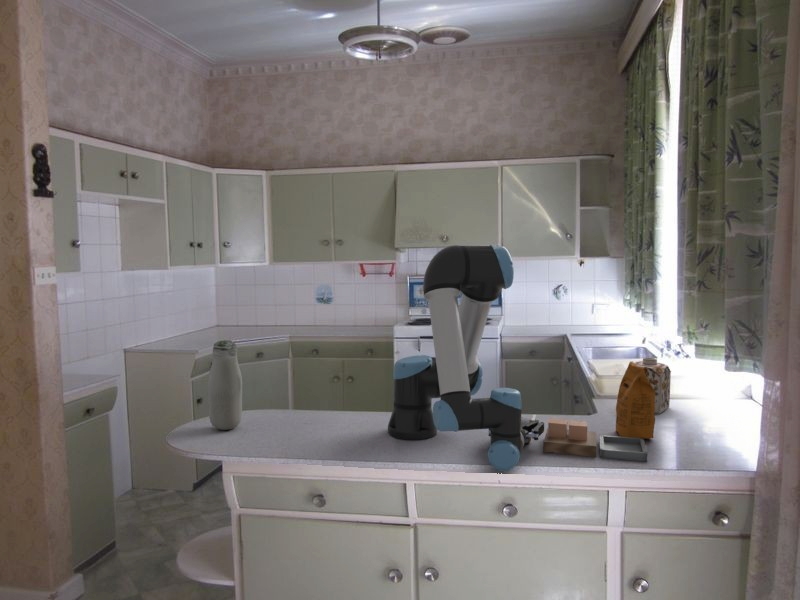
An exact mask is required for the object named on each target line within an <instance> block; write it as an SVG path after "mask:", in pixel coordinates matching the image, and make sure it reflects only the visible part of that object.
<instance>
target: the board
mask: <svg viewBox="0 0 800 600" xmlns="http://www.w3.org/2000/svg"><path fill="white" fill-rule="evenodd" d="M548 452H554V453H553V454H559V453H562V454H561V455H568V456H569V455H570V456H583V457H584V456H585V457H592V458H593V457H594V458H596V457H597V431H590V430H587V441H586V440H574V439H569V429H568V434H567V437H566V438H559V437H549V436H548V427H547V428H546V432H545V436H544V441H543V453H548Z"/></svg>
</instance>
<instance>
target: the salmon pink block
mask: <svg viewBox="0 0 800 600" xmlns="http://www.w3.org/2000/svg"><path fill="white" fill-rule="evenodd" d="M547 428H548V436H549V437H559V438H566V437H567V434H568V430H569V419H561V418H552V417H551V418H549V420H548V424H547Z"/></svg>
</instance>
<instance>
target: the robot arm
mask: <svg viewBox="0 0 800 600" xmlns="http://www.w3.org/2000/svg"><path fill="white" fill-rule="evenodd" d="M423 276H424V277H423V280H422V281H423V283H422V285H423V286H422V288H423V289H422V290H423V291H422V292H423V298H424V300H425V301H427V303H428V307H429V315H430V322H431V323H430V326H431V332H432V340H433V348H434V356H435V360H433V359H432V357H431V356H429V355H424V354H422V355H420V354H419V355H411V356H410V355H409V356H406V357H402V358H400V359H398V360H396V362H395V363H394V365H393V373H392V378H393V409H392V412H391V415H390V419H389V421H388V425H387V434H388V435H389V436H391V437H393V438H396V439H400V440H409V441H412V440H414V441H415V440H425V439H431V438H432V437H435V436H437V435H438V431H439V432H456V433H457V432H460V431H472V430H473V431H474V430H475V431H476V430H487V429H488V437H490V446H489V448H488V451H487V459H488V462H489V463H490V465H491V466H492V467H493V468H494V469H495V470H497V471H501V472H508V471H511V470H512V469H514V468H515V467H516V466H517V464H518V463H519V461H520V458H521V454H522V453H523V452H522V451H523V449H524V446H525V444H526V443H525V441H526V439H528V438H529V437H531V440H532V439H533V440H534V441H539V438H540V436H541V435H542V434H543V433H544V432H545V422H544V421H540V420H538V419H537V414H532V418H531V420H532V421H531V423H529V424H527V425H521V417H522V410H523V409H522V408H523V406H522V395H521V392H520V391H519V390H518V389H516V388H511V387H497V388H493V389H492V390H491V392H490V396H489V397H481V398H480V397H479V398H472V396H475V395H476V394H477V393H478V392H479V390H480V389H481V387H482V383H483V376H484V375H483V374H484V373H483V372H484V371H483V366H482V364H481V362H480V361H479V358H478V357H477V354H478V351H479V347H480V344H481V342H482V338H483V334H484V331H485V327H486V324H487V321H488V317H489V314H490V313H489V312H490V310H491V306H492V303H493V302H495V301H496V300H498V299H499V297H500V295H501V291H502V289H503V290H506V289H509V288H511V286H512V284H513V282H514V264H513V259H512V256H511V254H510V251H508V249H507V247H505V246H502V245H493V244H489V245H457V244H456V245H448V246H446V247H444V248H442V249H441V250H439V251H438V252H436V254H435V255H434V256H433V257H432V258H431V260H430V261H429V263H428V266H427V267H426V269H425V271H424V275H423ZM460 296H461V298H460V301H458V298H459V297H460ZM432 399H439V400H437V401H435V402H434V403H433V407H432V401H433V400H432Z"/></svg>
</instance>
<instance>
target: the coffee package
mask: <svg viewBox="0 0 800 600" xmlns="http://www.w3.org/2000/svg"><path fill="white" fill-rule="evenodd" d="M634 363H635V362H634V361H629V364H628V365H627V368H626V370H625V372H624V373H623V374H624V375H623V376H622V379H621V381H620V385H619V386H618V387H619V388H618V393H617V397H616V398H617V399H616V400H617V401H616V405H615V411H616V412H615V417H616V418H615V419H616V420H615V432H617V433H618V435H619V437H632V438H643V439H644V440H650V439H654V429H655V424H656V417H655V413H654V412H655V391H654V389H653V387H652V385H651V384H650V382H649V380H648V379H647V377H646V375H645V373H647V372H648V369H646V368H643V367H637V366H636V364H634Z"/></svg>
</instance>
